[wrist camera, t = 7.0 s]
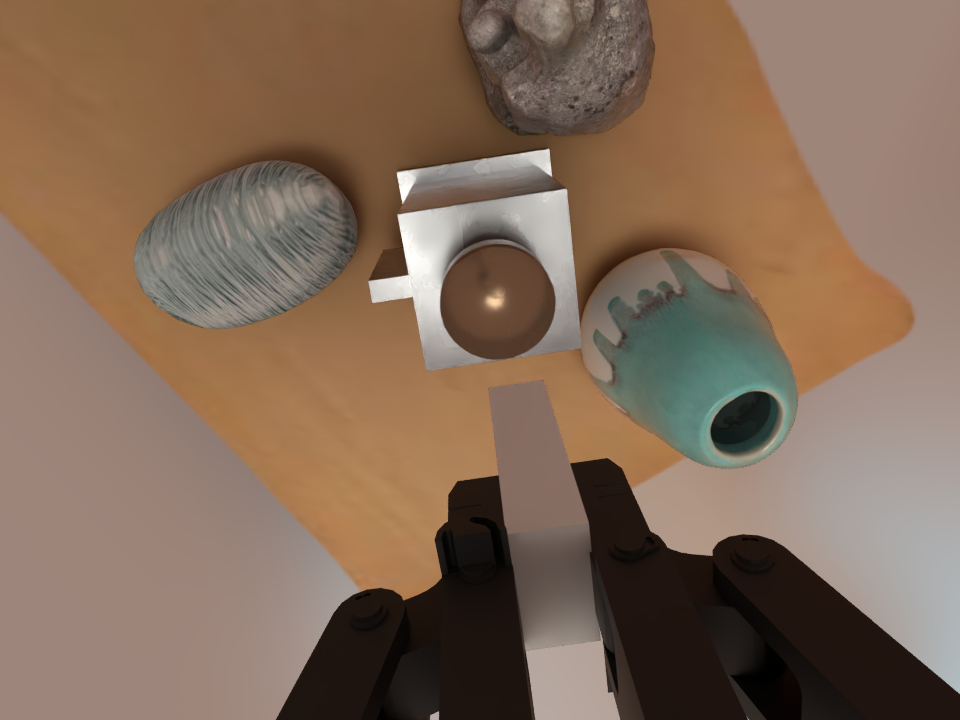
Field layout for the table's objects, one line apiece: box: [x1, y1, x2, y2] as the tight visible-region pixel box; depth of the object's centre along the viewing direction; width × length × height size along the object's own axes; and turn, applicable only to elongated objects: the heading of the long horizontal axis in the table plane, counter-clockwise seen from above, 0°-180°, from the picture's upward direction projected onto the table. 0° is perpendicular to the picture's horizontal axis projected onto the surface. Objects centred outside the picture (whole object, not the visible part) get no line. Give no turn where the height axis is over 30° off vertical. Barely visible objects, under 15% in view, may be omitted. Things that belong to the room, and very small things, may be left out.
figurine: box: [459, 0, 655, 136], centre depth 34 cm, size 13×12×18 cm
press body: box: [368, 148, 582, 371], centre depth 40 cm, size 10×12×14 cm
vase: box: [580, 248, 798, 469], centre depth 41 cm, size 12×12×18 cm
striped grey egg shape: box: [134, 160, 358, 329], centre depth 43 cm, size 14×10×10 cm
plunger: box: [440, 239, 556, 360], centre depth 36 cm, size 6×6×13 cm
